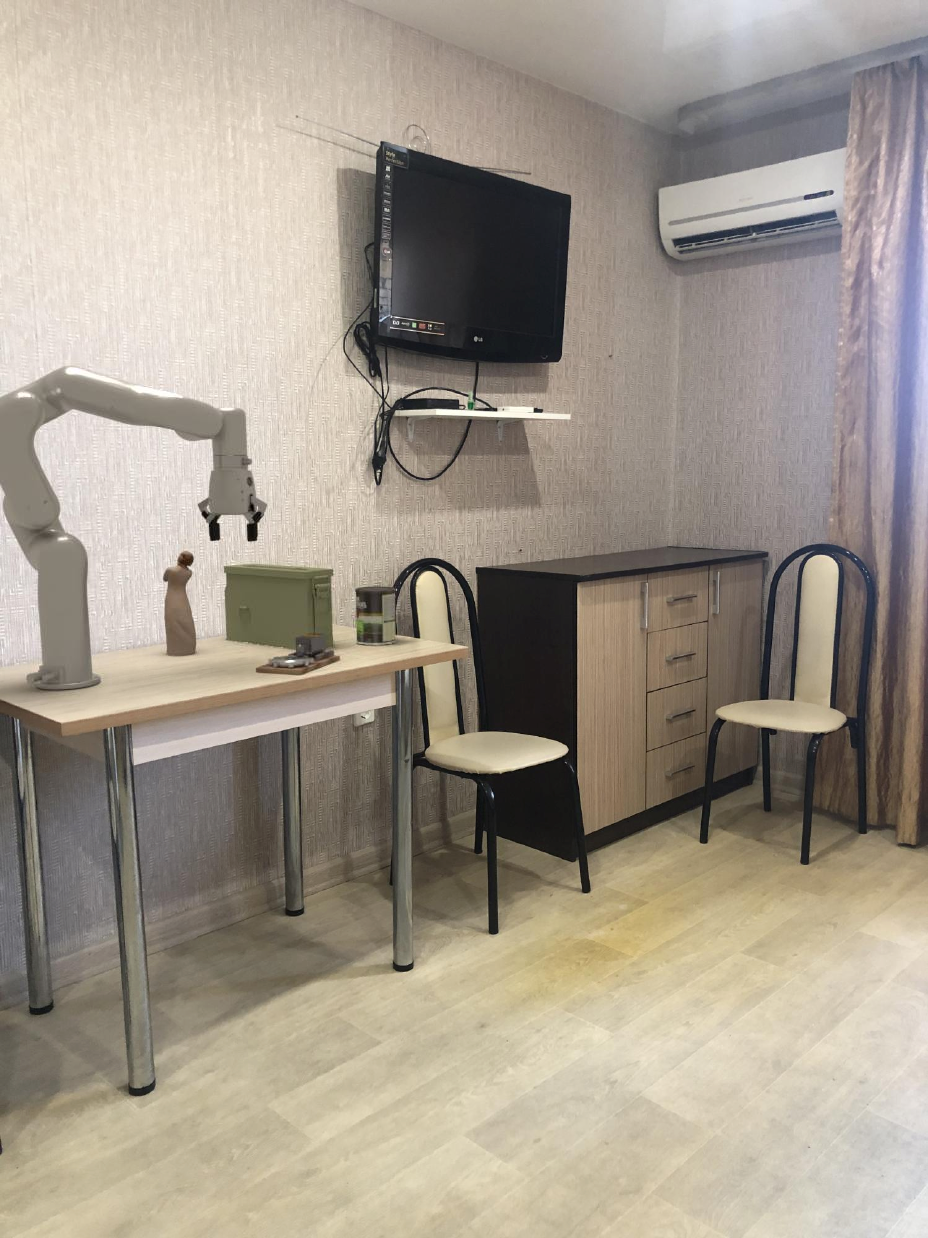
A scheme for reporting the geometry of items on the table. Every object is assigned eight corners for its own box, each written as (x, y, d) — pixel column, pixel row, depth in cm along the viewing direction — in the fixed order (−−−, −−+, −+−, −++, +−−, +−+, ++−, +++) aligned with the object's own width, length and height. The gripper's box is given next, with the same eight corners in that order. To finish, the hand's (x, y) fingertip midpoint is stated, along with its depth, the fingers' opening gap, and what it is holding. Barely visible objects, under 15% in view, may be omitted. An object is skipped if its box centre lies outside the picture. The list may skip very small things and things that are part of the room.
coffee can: (364, 647, 249) (362, 591, 247) (351, 641, 259) (349, 587, 257) (402, 643, 254) (401, 589, 252) (388, 638, 263) (387, 585, 261)
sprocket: (259, 664, 220) (258, 648, 219) (291, 657, 227) (290, 642, 227) (291, 669, 214) (290, 652, 213) (322, 662, 222) (322, 645, 221)
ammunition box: (311, 652, 242) (309, 571, 239) (224, 640, 262) (221, 565, 259) (339, 647, 250) (337, 568, 247) (252, 635, 270) (249, 562, 267)
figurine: (202, 650, 247) (198, 549, 243) (190, 656, 238) (185, 552, 235) (172, 650, 247) (167, 550, 244) (158, 656, 239) (153, 552, 236)
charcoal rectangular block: (311, 660, 226) (311, 637, 225) (296, 659, 227) (295, 637, 226) (325, 654, 232) (325, 633, 231) (310, 654, 233) (309, 632, 233)
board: (300, 675, 214) (300, 665, 214) (255, 672, 218) (255, 662, 217) (340, 659, 232) (339, 650, 231) (298, 657, 235) (298, 648, 235)
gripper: (273, 463, 221) (275, 540, 224) (206, 464, 227) (210, 539, 230) (255, 463, 214) (258, 542, 217) (187, 464, 220) (191, 541, 223)
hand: (233, 540), depth 223 cm, fingers open, 9 cm apart
